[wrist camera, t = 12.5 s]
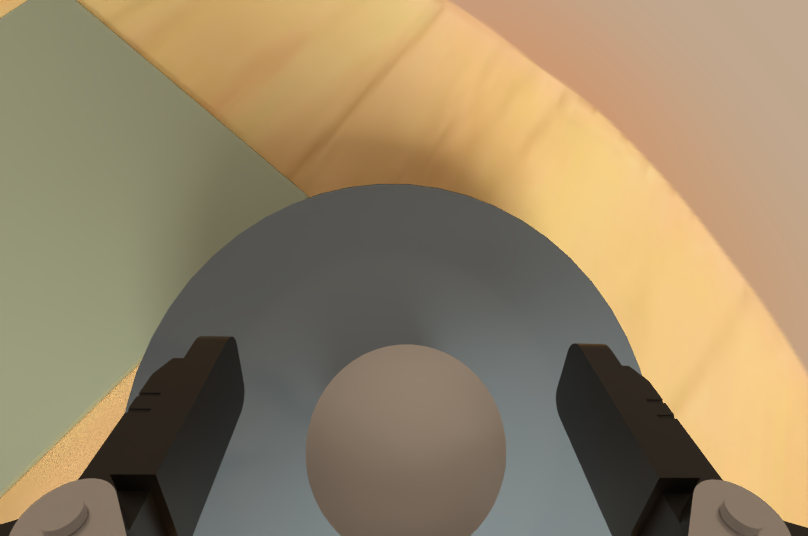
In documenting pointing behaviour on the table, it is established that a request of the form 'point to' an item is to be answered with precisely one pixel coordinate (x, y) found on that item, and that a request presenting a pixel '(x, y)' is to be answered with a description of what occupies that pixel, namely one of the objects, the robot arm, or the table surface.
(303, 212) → the food cover
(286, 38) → the table surface
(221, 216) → the rubber mat
